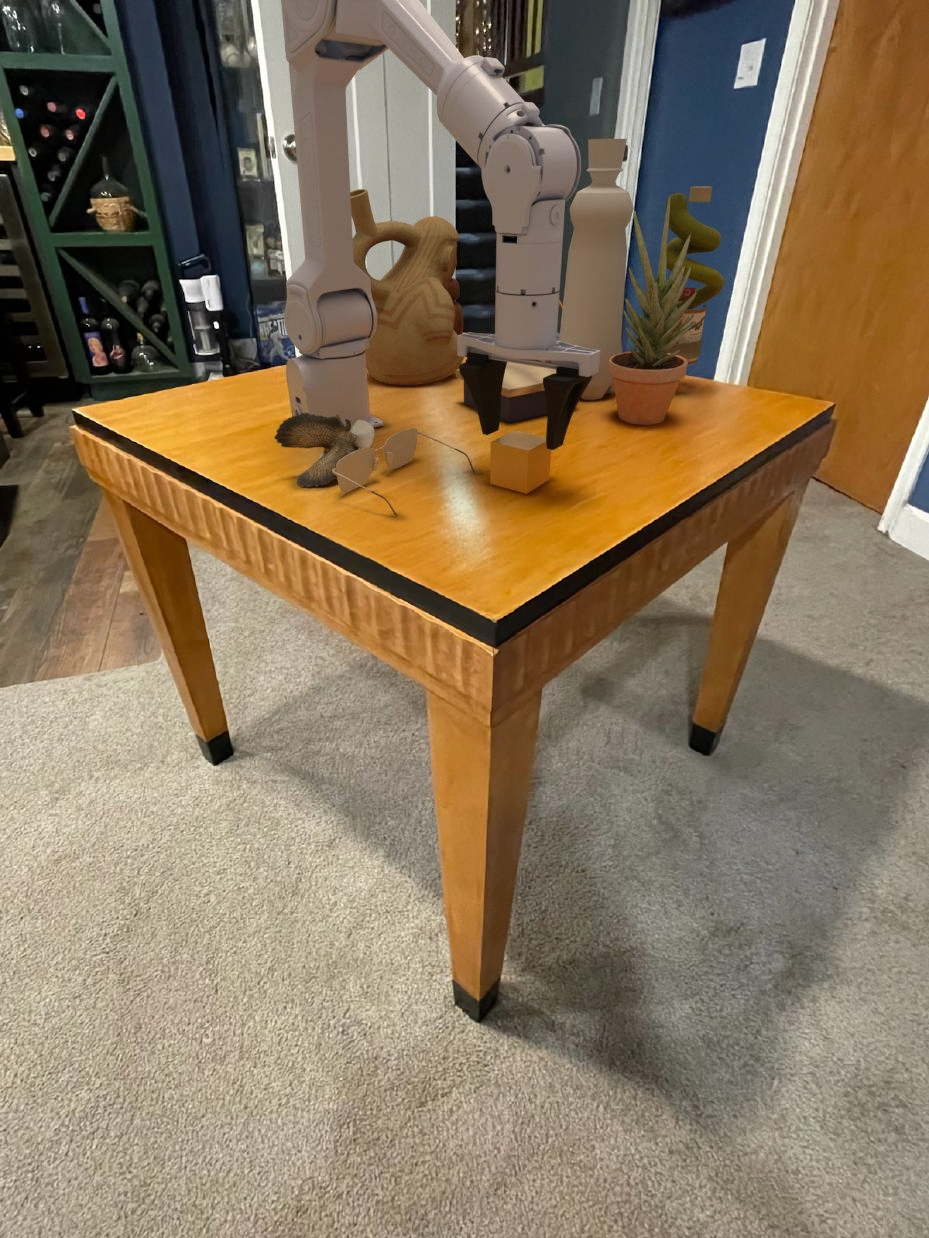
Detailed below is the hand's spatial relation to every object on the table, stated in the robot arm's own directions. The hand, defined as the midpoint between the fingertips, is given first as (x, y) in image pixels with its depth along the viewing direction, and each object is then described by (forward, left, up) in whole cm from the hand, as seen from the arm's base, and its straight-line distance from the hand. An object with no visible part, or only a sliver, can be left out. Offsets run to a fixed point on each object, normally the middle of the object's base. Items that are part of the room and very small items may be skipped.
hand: (521, 439), depth 69 cm
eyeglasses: (-10, +6, -5) cm, 13 cm away
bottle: (+28, +21, -5) cm, 35 cm away
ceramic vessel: (+12, +44, -5) cm, 46 cm away
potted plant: (+26, +8, -5) cm, 28 cm away
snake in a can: (+39, +16, -5) cm, 42 cm away
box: (+16, +22, -5) cm, 27 cm away
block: (0, 0, -5) cm, 5 cm away
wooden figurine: (+28, +58, -5) cm, 65 cm away
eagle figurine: (-15, +14, -5) cm, 21 cm away
